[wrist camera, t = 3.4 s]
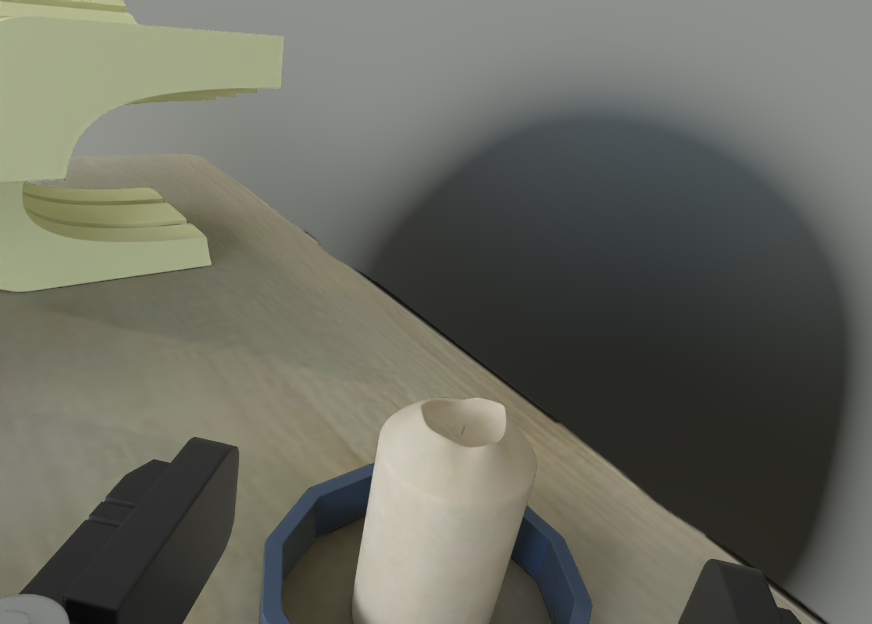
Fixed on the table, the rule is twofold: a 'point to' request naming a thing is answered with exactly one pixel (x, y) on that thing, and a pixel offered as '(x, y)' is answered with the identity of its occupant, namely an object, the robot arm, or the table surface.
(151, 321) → the table surface
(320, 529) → the ring
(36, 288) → the slatted curved stool
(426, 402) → the candle
